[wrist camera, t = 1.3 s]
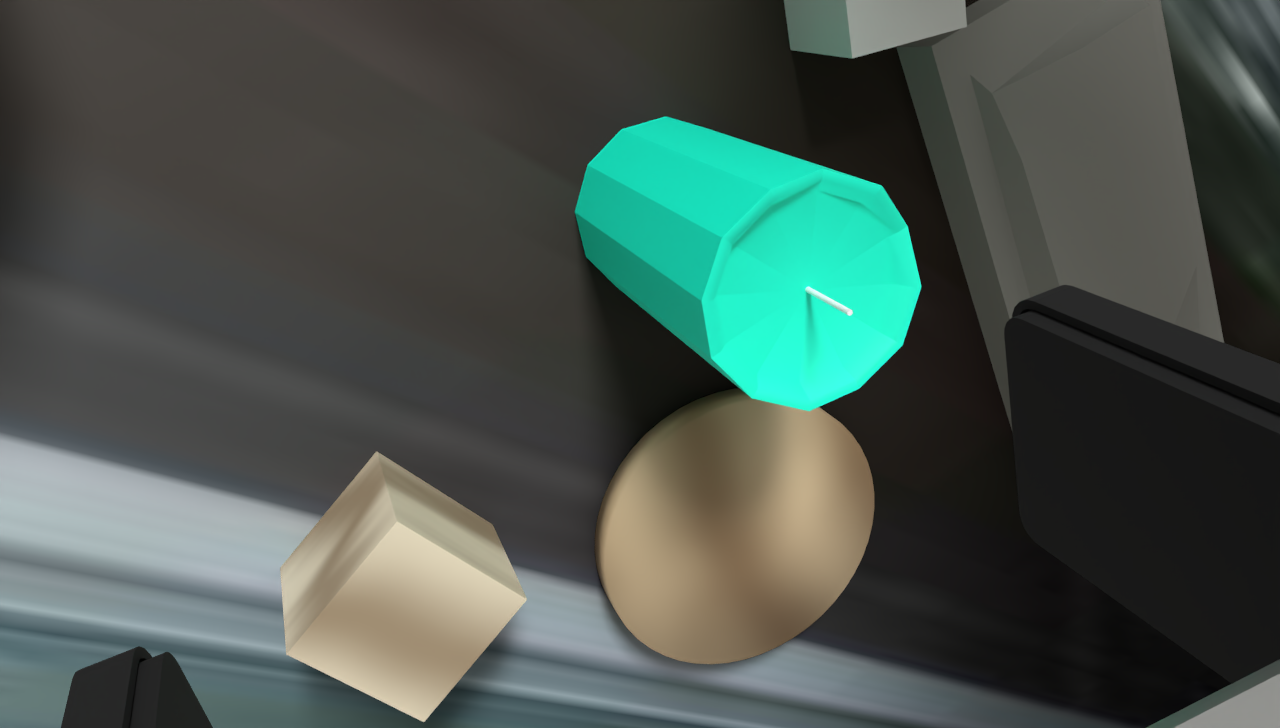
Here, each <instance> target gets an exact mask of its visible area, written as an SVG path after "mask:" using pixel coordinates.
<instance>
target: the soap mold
mask: <svg viewBox="0 0 1280 728" xmlns="http://www.w3.org/2000/svg"><path fill="white" fill-rule="evenodd" d="M966 20H967V27H965V28H961V29H957V30H954V31H950V32H946V33H943V34H939V35H936V36H932V37H928V38H925V39H921V40H917V41H914V42H910V43H907V44H903V45H899V46H897V47H896V48H897V51H898V54H899V58H900V61H901V64H902V68H903V71H904V74H905V78H906V81H907V84H908V88H909V91H910V94H911V98H912V101H913V104H914V108H915V111H916V114H917V117H918V121H919V124H920V127H921V131H922V134H923V137H924V141H925V144H926V147H927V151H928V154H929V157H930V161H931V164H932V167H933V171H934V174H935V177H936V181H937V184H938V187H939V191H940V194H941V197H942V200H943V204H944V207H945V210H946V214H947V217H948V220H949V224H950V227H951V230H952V234H953V237H954V240H955V244H956V247H957V250H958V254H959V257H960V260H961V264H962V267H963V270H964V274H965V277H966V280H967V283H968V287H969V290H970V293H971V297H972V300H973V303H974V307H975V310H976V313H977V317H978V320H979V323H980V327H981V330H982V333H983V337H984V340H985V343H986V347H987V350H988V353H989V356H990V360H991V363H992V366H993V370H994V373H995V376H996V380H997V383H998V386H999V390H1000V393H1001V396H1002V399H1003V403H1004V406H1005V409H1006V413H1007V416H1008V419H1009V423H1010V426H1011V429H1012V421H1011V409H1010V397H1009V386H1008V374H1007V362H1006V350H1005V339H1004V328H1005V325H1006V322H1007V321H1008V320H1009V319H1011V318H1012V313H1013V311H1014V308H1015V306H1016V305H1017V304H1018V303H1019V302H1020V301H1022V300H1025V299H1028V298H1030V297H1033V296H1035V295H1038V294H1040V293H1043V292H1045V291H1048V290H1051V289H1053V288H1056V287H1058V286H1062V285H1070V286H1074V287H1077V288H1079V289H1082V290H1085V291H1087V292H1090V293H1093V294H1095V295H1098V296H1100V297H1103V298H1106V299H1108V300H1111V301H1114V302H1116V303H1119V304H1122V305H1124V306H1127V307H1130V308H1132V309H1135V310H1138V311H1140V312H1143V313H1146V314H1148V315H1151V316H1154V317H1156V318H1159V319H1161V320H1164V321H1167V322H1169V323H1172V324H1175V325H1177V326H1180V327H1183V328H1185V329H1188V330H1191V331H1193V332H1196V333H1199V334H1201V335H1204V336H1207V337H1209V338H1212V339H1215V340H1217V341H1220V342H1223V343H1224V340H1223V335H1222V329H1221V324H1220V318H1219V313H1218V308H1217V302H1216V297H1215V292H1214V286H1213V281H1212V276H1211V270H1210V265H1209V259H1208V254H1207V249H1206V243H1205V238H1204V233H1203V227H1202V222H1201V216H1200V211H1199V206H1198V200H1197V195H1196V190H1195V184H1194V179H1193V173H1192V168H1191V163H1190V157H1189V152H1188V147H1187V141H1186V136H1185V130H1184V125H1183V120H1182V114H1181V109H1180V104H1179V98H1178V93H1177V87H1176V82H1175V77H1174V71H1173V66H1172V61H1171V55H1170V50H1169V44H1168V39H1167V34H1166V28H1165V23H1164V18H1163V12H1162V7H1161V2H1160V0H979V1H977V2H975V3H973V4H972V5H970V6H968V7H966ZM1055 25H1056V26H1055Z"/></svg>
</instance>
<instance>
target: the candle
mask: <svg viewBox="0 0 1280 728" xmlns="http://www.w3.org/2000/svg"><path fill="white" fill-rule="evenodd" d="M575 215H576V219H577V223H578V227H579V231H580V235H581V239H582V243H583V247H584V251H585V255H586V257H587V258H588V259H589V260H590V261H591V262H592V263H593V264H594V265H595V266H596V267H597V268H598V269H599V270H600V271H601V272H602V273H603V274H604V275H605V276H606V277H607V278H608V279H609V280H610V281H611V282H612V283H613V284H614V285H615V286H616V287H617V288H618V289H619V290H621V291H622V292H623V293H624V294H626V295H627V296H628V297H629V298H630V299H632V300H633V301H634V302H635V303H636V304H638V305H639V306H640V307H641V308H643V309H644V310H645V311H646V312H647V313H649V314H650V315H651V316H652V317H653V318H655V319H656V320H657V321H658V322H660V323H661V324H662V325H663V326H664V327H666V328H667V329H668V330H669V331H670V332H672V333H673V334H674V335H675V336H677V337H678V338H679V339H680V340H681V341H683V342H684V343H685V344H686V345H687V346H689V347H690V348H691V349H692V350H694V351H695V352H696V353H697V354H698V355H700V356H701V357H702V358H703V359H704V360H706V361H707V362H708V363H709V364H711V365H712V366H713V367H714V368H715V369H717V370H718V371H719V372H720V373H721V374H723V375H724V376H725V377H726V378H728V379H729V380H730V381H731V382H732V383H734V384H735V385H736V386H737V387H739V388H740V389H741V390H742V391H743V392H745V393H746V394H747V395H748V396H749V397H751V398H752V399H756V400H761V401H765V402H770V403H774V404H779V405H783V406H788V407H792V408H796V409H801V410H805V411H811V410H813V409H815V408H818V407H820V406H822V405H824V404H827V403H829V402H831V401H833V400H835V399H838V398H840V397H842V396H844V395H846V394H849V393H851V392H853V391H855V390H857V389H859V388H860V387H861V386H862V385H863V384H864V383H865V382H866V381H867V380H868V379H869V378H870V377H871V376H872V375H873V374H874V373H875V372H876V371H877V370H878V369H879V368H880V367H881V366H882V365H883V364H884V363H885V362H886V361H887V360H888V359H889V358H890V357H891V356H892V355H893V354H894V353H895V352H896V351H897V350H898V349H899V348H900V347H901V346H902V345H903V343H904V339H905V336H906V333H907V330H908V327H909V324H910V321H911V318H912V315H913V312H914V309H915V306H916V302H917V299H918V296H919V293H920V290H921V282H920V278H919V273H918V269H917V265H916V260H915V256H914V252H913V247H912V243H911V239H910V234H909V230H908V226H907V224H906V223H905V221H904V220H903V218H902V216H901V215H900V213H899V212H898V210H897V209H896V207H895V205H894V204H893V202H892V201H891V199H890V198H889V196H888V194H887V193H886V191H885V190H884V188H883V186H882V185H879V184H876V183H872V182H869V181H866V180H863V179H860V178H857V177H854V176H851V175H848V174H845V173H842V172H839V171H836V170H833V169H830V168H827V167H824V166H821V165H817V164H814V163H811V162H808V161H805V160H802V159H799V158H796V157H793V156H790V155H787V154H784V153H781V152H778V151H775V150H772V149H769V148H766V147H763V146H759V145H756V144H753V143H750V142H747V141H744V140H741V139H738V138H735V137H732V136H729V135H726V134H723V133H720V132H717V131H714V130H711V129H708V128H704V127H701V126H697V125H694V124H690V123H687V122H684V121H680V120H677V119H673V118H670V117H666V116H665V117H662V118H658V119H655V120H651V121H648V122H645V123H641V124H638V125H635V126H631V127H628V128H624V129H621V130H620V131H619V132H618V133H617V134H616V135H615V137H614V138H613V139H612V140H611V141H610V142H609V143H608V144H607V145H606V146H605V147H604V148H603V149H602V150H601V151H600V152H599V153H598V154H597V155H596V157H595V158H594V159H593V160H592V161H591V162H590V163H589V164H588V165H587V169H586V173H585V176H584V180H583V184H582V187H581V191H580V195H579V198H578V202H577V206H576V209H575Z"/></svg>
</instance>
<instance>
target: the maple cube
mask: <svg viewBox="0 0 1280 728" xmlns="http://www.w3.org/2000/svg"><path fill="white" fill-rule="evenodd" d="M280 571H281V585H282V599H283V613H284V627H285V641H286V654H287V655H289V656H291V657H293V658H295V659H297V660H299V661H301V662H303V663H305V664H307V665H309V666H311V667H313V668H315V669H317V670H319V671H321V672H323V673H325V674H327V675H329V676H331V677H333V678H335V679H337V680H339V681H341V682H343V683H345V684H347V685H350V686H352V687H354V688H356V689H358V690H360V691H362V692H364V693H366V694H368V695H370V696H372V697H374V698H376V699H378V700H380V701H382V702H384V703H386V704H388V705H390V706H392V707H394V708H396V709H398V710H400V711H402V712H404V713H406V714H408V715H410V716H412V717H414V718H416V719H418V720H420V721H422V722H425V720H426V719H427V718H428V717H429V716H430V714H431V713H432V712H433V711H434V710H435V708H436V707H437V706H438V705H439V704H440V703H441V701H442V700H443V699H444V698H445V697H446V695H447V694H448V693H449V692H450V691H451V689H452V688H453V687H454V686H455V685H456V684H457V682H458V681H459V680H460V679H461V678H462V676H463V675H464V674H465V673H466V672H467V670H468V669H469V668H470V667H471V666H472V664H473V663H474V662H475V661H476V660H477V659H478V657H479V656H480V655H481V654H482V653H483V651H484V650H485V649H486V648H487V647H488V645H489V644H490V643H491V642H492V641H493V640H494V638H495V637H496V636H497V635H498V634H499V632H500V631H501V630H502V629H503V628H504V626H505V625H506V624H507V623H508V622H509V620H510V619H511V618H512V617H513V616H514V615H515V613H516V612H517V611H518V610H519V609H520V607H521V606H522V605H523V604H524V603H525V601H526V600H527V598H526V596H525V594H524V592H523V590H522V587H521V585H520V583H519V581H518V579H517V577H516V574H515V572H514V570H513V568H512V566H511V564H510V561H509V559H508V557H507V555H506V553H505V551H504V548H503V546H502V544H501V542H500V540H499V538H498V535H497V533H496V531H495V529H494V527H493V525H492V524H491V523H489V522H487V521H486V520H484V519H483V518H481V517H480V516H478V515H476V514H475V513H473V512H472V511H470V510H468V509H467V508H465V507H464V506H462V505H461V504H459V503H457V502H456V501H454V500H453V499H451V498H450V497H448V496H446V495H445V494H443V493H442V492H440V491H438V490H437V489H435V488H434V487H432V486H431V485H429V484H427V483H426V482H424V481H423V480H421V479H419V478H418V477H416V476H415V475H413V474H412V473H410V472H408V471H407V470H405V469H404V468H402V467H401V466H399V465H397V464H396V463H394V462H393V461H391V460H389V459H388V458H386V457H385V456H383V455H382V454H380V453H378V452H376V453H375V454H374V455H373V456H372V458H371V459H370V460H369V461H368V462H367V464H366V465H365V466H364V467H363V469H362V470H361V471H360V472H359V473H358V475H357V476H356V477H355V478H354V479H353V481H352V482H351V483H350V484H349V485H348V487H347V488H346V489H345V490H344V491H343V493H342V494H341V495H340V496H339V498H338V499H337V500H336V501H335V502H334V504H333V505H332V506H331V507H330V508H329V510H328V511H327V512H326V513H325V514H324V516H323V517H322V518H321V519H320V520H319V522H318V523H317V524H316V525H315V527H314V528H313V529H312V530H311V531H310V533H309V534H308V535H307V536H306V537H305V539H304V540H303V541H302V542H301V543H300V545H299V546H298V547H297V548H296V549H295V551H294V552H293V553H292V554H291V556H290V557H289V558H288V559H287V560H286V562H285V563H284V564H283V565H282V566H281V568H280Z"/></svg>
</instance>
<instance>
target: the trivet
mask: <svg viewBox="0 0 1280 728" xmlns="http://www.w3.org/2000/svg"><path fill="white" fill-rule="evenodd" d="M873 515H874V487H873V480H872V475H871V471H870V468H869V465H868V461H867V459H866V457H865V455H864V453H863V451H862V449H861V447H860V445H859V444H858V442H857V441H856V440H855V438H854V437H853V435H852V434H851V433H850V432H849V431H848V430H847V429H846V428H845V427H844V426H843V425H842V424H841V423H840V422H839V421H837V420H836V419H835V418H833V417H832V416H831V415H829V414H828V413H827V412H825V411H824V410H822V409H821V408H820V407H818V408H815V409H813V410H811V411H805V410H801V409H796V408H792V407H788V406H783V405H779V404H774V403H770V402H765V401H761V400H756V399H752V398H751V397H749V396H748V395H747V394H746V393H745V392H743V391H742V390H741V389H740V388H735V389H729V390H725V391H721V392H717V393H713V394H710V395H708V396H705V397H702V398H700V399H697V400H695V401H693V402H691V403H689V404H687V405H685V406H683V407H681V408H679V409H678V410H676V411H675V412H673V413H672V414H670V415H669V416H667V417H666V418H664V419H663V420H661V421H660V422H659V423H658V424H657V425H655V426H654V427H653V428H652V429H651V430H650V431H648V432H647V433H646V434H645V435H644V436H643V437H642V438H641V439H640V441H639V442H638V443H637V444H636V445H635V446H634V447H633V448H632V449H631V451H630V452H629V453H628V455H627V456H626V457H625V459H624V460H623V461H622V463H621V464H620V466H619V467H618V469H617V471H616V473H615V474H614V476H613V478H612V479H611V481H610V484H609V486H608V488H607V491H606V493H605V495H604V497H603V500H602V504H601V507H600V511H599V514H598V518H597V525H596V531H595V558H596V565H597V570H598V574H599V577H600V581H601V584H602V586H603V588H604V591H605V593H606V595H607V597H608V599H609V600H610V602H611V604H612V606H613V607H614V609H615V611H616V612H617V614H618V616H619V617H620V619H621V620H622V621H623V623H624V624H625V626H626V627H627V629H628V630H629V631H630V632H631V633H632V634H633V635H634V636H635V637H636V638H637V639H638V640H639V641H641V642H642V643H644V644H645V645H646V646H648V647H649V648H650V649H652V650H654V651H656V652H658V653H660V654H662V655H664V656H667V657H670V658H673V659H676V660H679V661H684V662H689V663H695V664H720V663H730V662H735V661H739V660H744V659H748V658H751V657H754V656H757V655H760V654H763V653H765V652H767V651H769V650H772V649H774V648H776V647H778V646H780V645H782V644H783V643H785V642H787V641H789V640H790V639H792V638H794V637H795V636H797V635H798V634H799V633H801V632H802V631H804V630H805V629H806V628H808V627H809V626H810V625H811V624H812V623H814V622H815V621H816V620H817V619H818V618H819V617H820V616H822V615H823V613H824V612H825V611H826V610H827V609H828V608H829V607H830V606H831V605H832V604H833V603H834V602H835V600H836V599H837V598H838V597H839V595H840V594H841V593H842V591H843V590H844V589H845V587H846V586H847V584H848V583H849V581H850V579H851V578H852V576H853V575H854V573H855V571H856V569H857V567H858V565H859V563H860V561H861V559H862V557H863V554H864V551H865V549H866V546H867V543H868V540H869V536H870V532H871V528H872V523H873Z"/></svg>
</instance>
